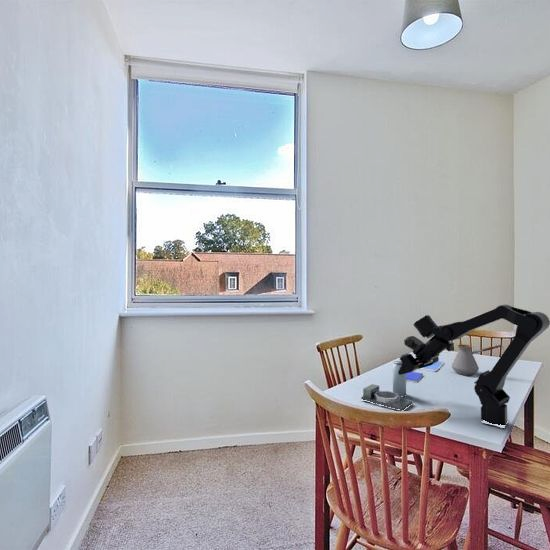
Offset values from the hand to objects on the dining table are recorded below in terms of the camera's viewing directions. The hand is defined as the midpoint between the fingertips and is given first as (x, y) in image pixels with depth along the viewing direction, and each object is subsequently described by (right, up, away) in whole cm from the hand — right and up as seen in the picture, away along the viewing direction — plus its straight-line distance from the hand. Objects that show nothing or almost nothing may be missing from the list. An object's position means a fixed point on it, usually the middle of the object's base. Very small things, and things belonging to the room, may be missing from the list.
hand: (405, 371), depth 140 cm
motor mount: (-9, -10, -6) cm, 15 cm away
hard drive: (+11, -10, +25) cm, 29 cm away
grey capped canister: (-2, -10, +2) cm, 10 cm away
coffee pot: (+43, -9, +27) cm, 52 cm away
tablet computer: (+27, -10, +44) cm, 53 cm away
